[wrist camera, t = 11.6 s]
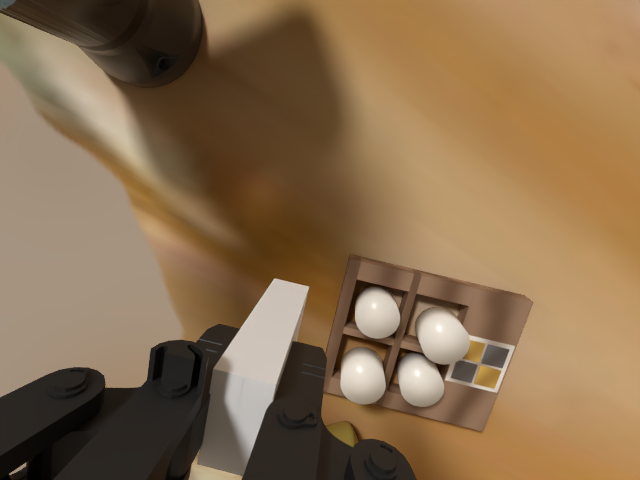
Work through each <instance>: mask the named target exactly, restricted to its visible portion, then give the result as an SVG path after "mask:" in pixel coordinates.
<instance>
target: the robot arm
mask: <svg viewBox="0 0 640 480" xmlns="http://www.w3.org/2000/svg"><path fill="white" fill-rule="evenodd" d="M0 13H2V14H5V15H7V16H9V17H12V18H14V19H17V20H19V21H21V22H24V23H26V24H28V25H31V26H33V27H35V28H38V29H40V30H43V31H45V32H47V33H50V34H52V35H54V36H57V37H59V38H62V39H64V40H66V41H69V42H71V43H73V44H76V45H77V46H78V47H79V48H80V49H81V50H82V51H83V52H84V53H85V54H86V55H87V56H88V57H90V58H91V59H92V60H93V61H94V62H95V63H96V64H97V65H98V66H99V67H100V68H101V69H102V70H103V71H105V72H106V73H108V74H109V75H111V76H113V77H115V78H116V79H119V80H121V81H124V82H126V83H129V84H132V85H135V86H140V87H157V86H162V85H165V84H167V83H170V82H172V81H173V80H175V79H177V78H178V77H179V76H180V75H182V74H183V73H184V72H185V71H186V69H187V68H188V67H189V66H190V64H191V63H192V61H193V59H194V57H195V55H196V53H197V50H198V48H199V44H200V40H201V32H202V19H201V11H200V7H199V3H198V0H0ZM308 290H309V287H308V286H304V285H300V284H296V283H292V282H288V281H283V280H279V279H275V278H274V280H273V281H272V283H271V284H270V286H269V287H268V289H267V290H266V292H265V293H264V294H263V296H262V297H261V299H260V300H259V302H258V303H257V305H256V306H255V308H254V309H253V311H252V312H251V314H250V315H249V317H248V318H247V320H246V321H245V323H244V324H243V325H242V327H241V328H240V329H238V328H234V327H230V326H226V325H222V324H218V325H216V326H214V327H212V328H209V329H207V330H206V331H205V333H204V334H203V335H202V336H201V337H200V339H199V340H198V341H197V342H196V343H195V342H192V341H185V340H173V341H167V342H164V343H160V344H158V345H156V346H155V347H153V348H151V352H150V360H149V368H148V377H147V381H146V382H145V383H144V384H143V385H142V386H141V387H138V388H105V378H104V375H102V374H101V373H100V372H99V371H97V370H94V369H90V368H81V367H74V368H68V369H62V370H58V371H56V372H53V373H50V374H48V375H46V376H44V377H41V378H39V379H37V380H35V381H33V382H31V383H29V384H27V385H25V386H23V387H21V388H19V389H17V390H15V391H13V392H11V393H9V394H7V395H4V396H2V397H1V398H0V480H188V479H189V476H190V470H191V464H192V462H193V460H194V458H195V457H196V455H197V453H198V451H199V449H200V451H199V457H198V463H197V464H199V465H203V466H207V467H211V468H214V469H218V470H222V471H226V472H230V473H233V474H237V475H241V476H243V478H242V480H417V479H416V477H415V475H414V472H413V470H412V468H411V466H410V464H409V463H408V461H407V460H406V458H405V457H404V455H402V454H401V453H400V452H399V451H398V450H397V449H396V448H395V447H393V446H391V445H389V444H387V443H386V442H384V441H380V440H375V439H366V440H361V441H360V442H358V443H356V444H355V445H354V447H351V446H350V445H348V444H346V443H344V442H342V441H341V440H339V439H338V438H336V437H335V436H334V435H333V434H332V433H331V432H330V431H328V429H327V428H326V426H325V425H324V423H323V420H322V418H321V406H322V398H323V390H324V381H325V373H326V364H327V357H326V355H325V353H324V351H323V349H322V348H320V347H316V346H312V345H308V344H304V343H300V342H297V339H298V334H299V330H300V326H301V321H302V317H303V312H304V308H305V303H306V299H307V295H308ZM24 463H27V464H26V467H25V468H23V469H22V470H20V471H18V472H16V473H14V474H12V475H9V473H11V472H12V471H14V470H15V469H17V468H18V467H20V466H21V465H23V464H24Z"/></svg>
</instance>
